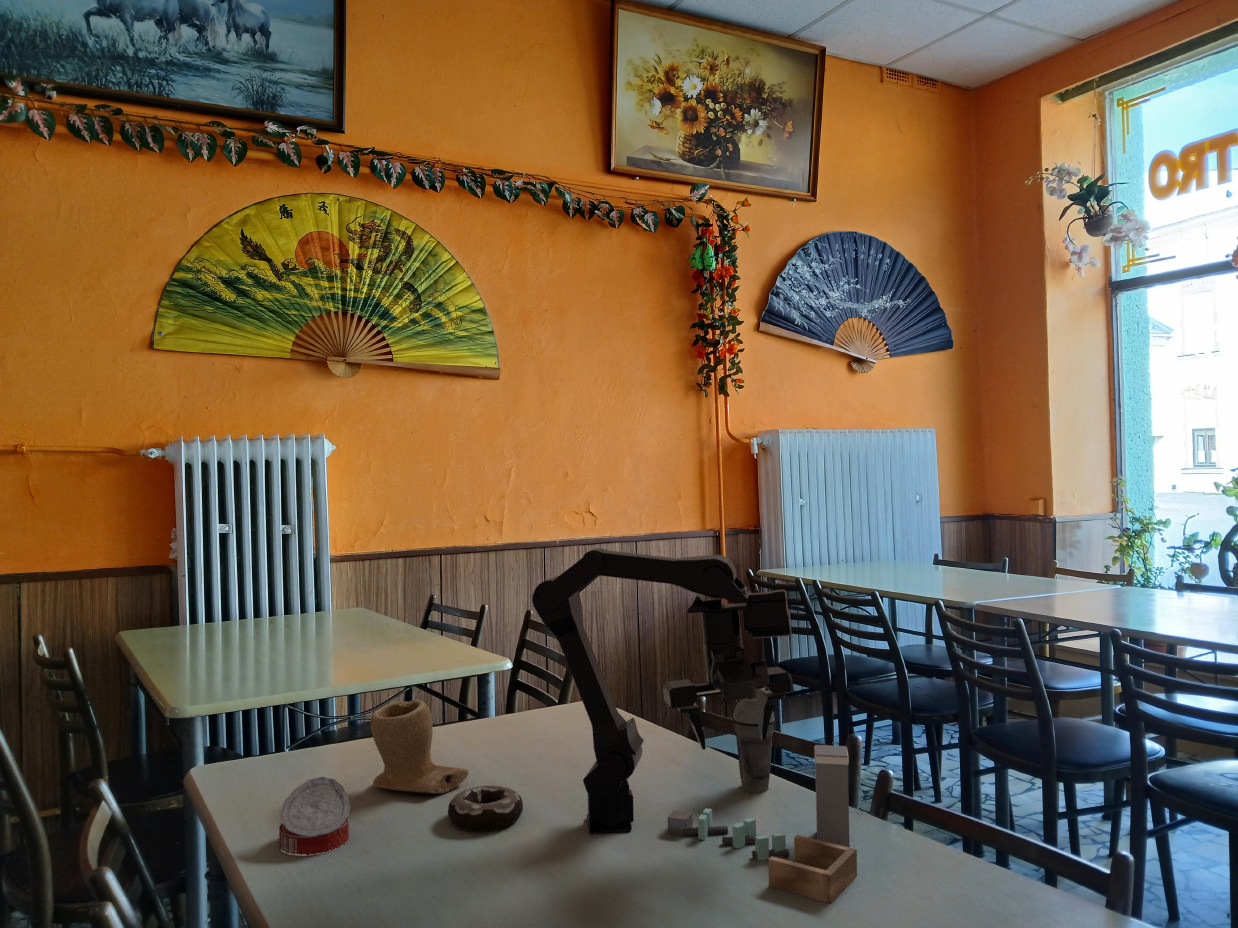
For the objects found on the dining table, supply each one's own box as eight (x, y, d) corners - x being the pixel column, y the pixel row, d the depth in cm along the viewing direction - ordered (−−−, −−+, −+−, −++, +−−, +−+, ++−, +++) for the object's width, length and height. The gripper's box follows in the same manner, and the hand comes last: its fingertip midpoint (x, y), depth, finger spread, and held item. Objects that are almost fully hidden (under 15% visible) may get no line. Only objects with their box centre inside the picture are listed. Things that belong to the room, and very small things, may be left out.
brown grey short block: (667, 832, 133) (667, 816, 133) (673, 825, 136) (673, 809, 136) (687, 835, 132) (686, 819, 132) (692, 827, 135) (692, 811, 135)
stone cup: (356, 795, 151) (354, 707, 151) (400, 772, 162) (398, 690, 162) (430, 807, 145) (428, 715, 145) (470, 783, 156) (469, 697, 156)
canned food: (348, 863, 136) (377, 806, 135) (305, 885, 126) (336, 825, 126) (296, 820, 140) (324, 764, 139) (250, 838, 130) (280, 779, 130)
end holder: (769, 885, 116) (768, 858, 116) (797, 859, 123) (797, 834, 123) (831, 903, 111) (830, 875, 111) (857, 875, 118) (856, 849, 118)
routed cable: (694, 863, 123) (694, 856, 123) (682, 833, 133) (682, 826, 133) (789, 857, 124) (789, 850, 124) (770, 828, 134) (770, 821, 134)
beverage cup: (776, 796, 147) (773, 675, 147) (731, 794, 148) (729, 674, 149) (777, 780, 154) (775, 665, 154) (735, 778, 156) (732, 664, 156)
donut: (536, 812, 143) (536, 787, 143) (496, 840, 132) (496, 813, 132) (476, 801, 148) (475, 777, 148) (432, 828, 137) (432, 802, 137)
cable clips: (770, 864, 122) (770, 842, 122) (689, 835, 132) (689, 815, 132) (793, 851, 126) (792, 830, 126) (712, 824, 136) (712, 804, 136)
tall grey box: (816, 844, 128) (814, 754, 128) (816, 831, 133) (814, 744, 133) (850, 847, 127) (848, 756, 127) (848, 833, 132) (846, 745, 132)
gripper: (673, 658, 124) (684, 770, 124) (801, 641, 127) (812, 750, 126) (657, 644, 135) (668, 747, 135) (775, 629, 138) (786, 730, 137)
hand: (733, 744), depth 133 cm, fingers open, 9 cm apart
